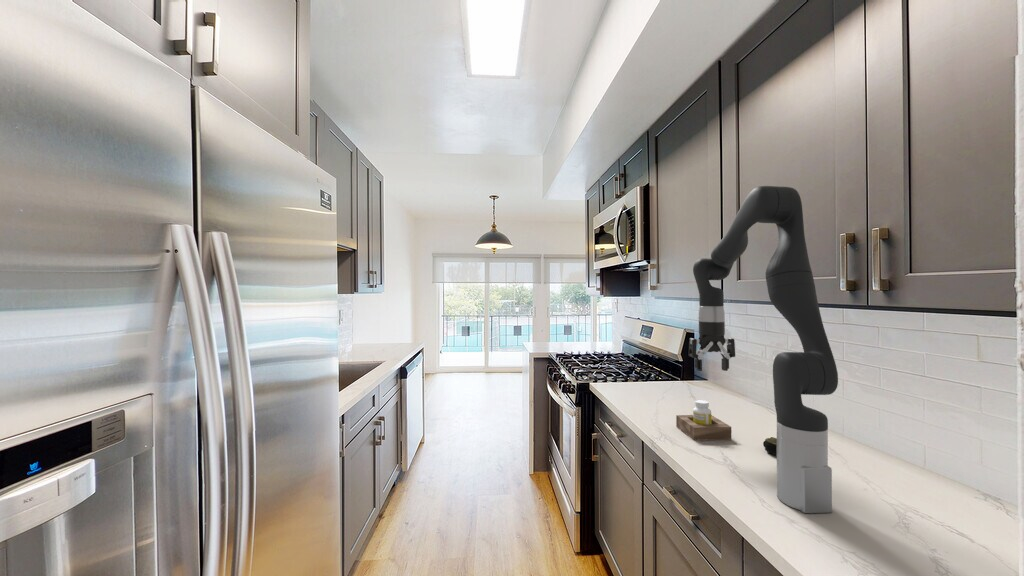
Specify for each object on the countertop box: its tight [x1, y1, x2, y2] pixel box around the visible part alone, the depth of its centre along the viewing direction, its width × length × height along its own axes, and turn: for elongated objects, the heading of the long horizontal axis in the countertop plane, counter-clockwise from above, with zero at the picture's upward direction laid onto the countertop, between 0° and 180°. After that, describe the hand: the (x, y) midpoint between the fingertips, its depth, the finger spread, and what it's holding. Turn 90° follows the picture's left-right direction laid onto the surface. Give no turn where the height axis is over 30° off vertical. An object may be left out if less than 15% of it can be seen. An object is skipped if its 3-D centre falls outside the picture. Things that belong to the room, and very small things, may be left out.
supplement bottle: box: [692, 399, 712, 425], centre depth 131 cm, size 5×5×10 cm
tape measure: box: [762, 436, 777, 456], centre depth 115 cm, size 7×7×4 cm
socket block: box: [675, 414, 732, 441], centre depth 131 cm, size 12×12×4 cm
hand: (712, 370), depth 129 cm, fingers open, 8 cm apart
